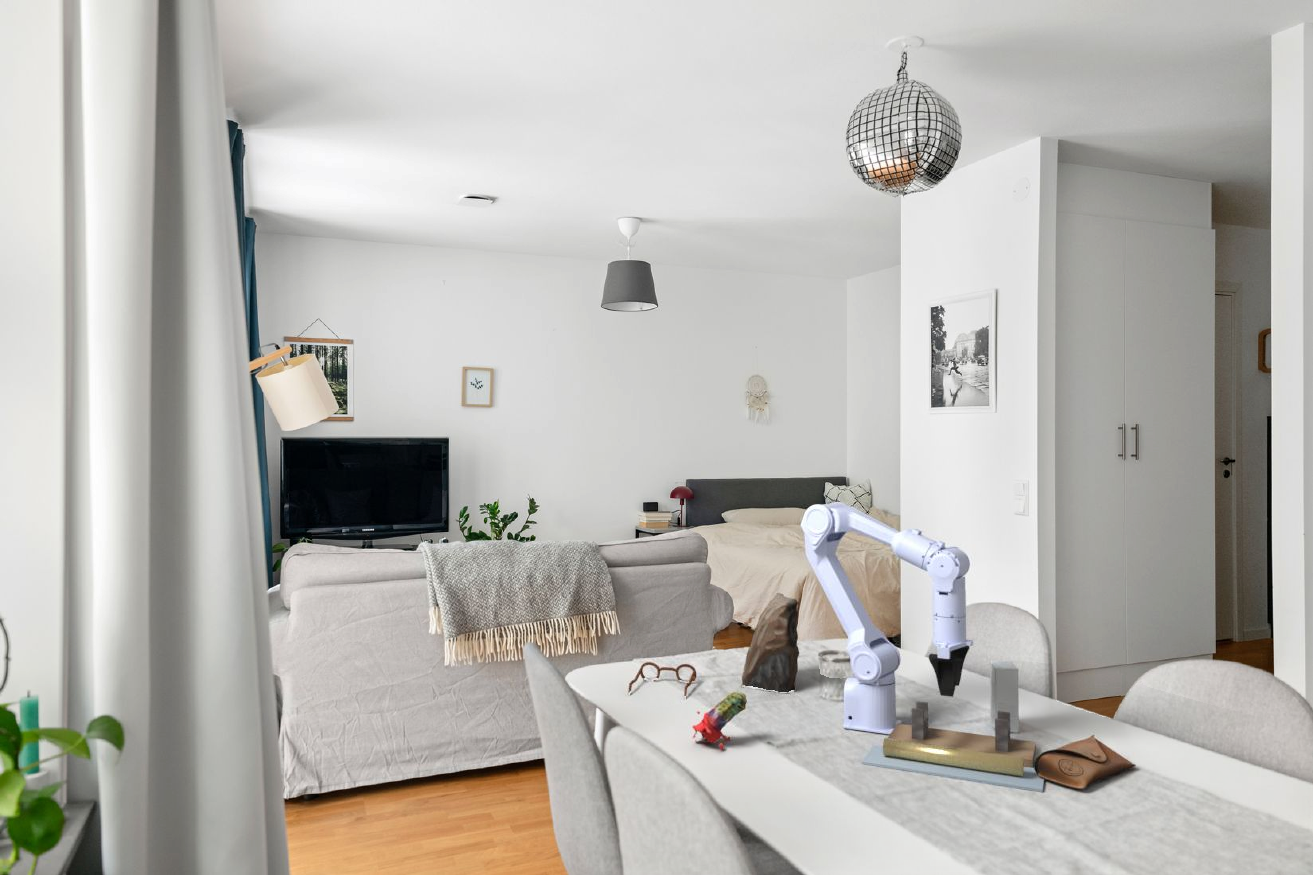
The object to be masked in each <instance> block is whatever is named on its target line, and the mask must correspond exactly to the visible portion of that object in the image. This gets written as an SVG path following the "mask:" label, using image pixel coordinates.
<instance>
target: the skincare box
mask: <svg viewBox="0 0 1313 875" xmlns="http://www.w3.org/2000/svg"><path fill="white" fill-rule="evenodd" d="M989 678H990V679H989V683H990V684H989V694H990V698H989V699H990V701H989V702H990V703H989V704H990V705H989V706H990V708H989V710H990V711H989V714H990V716H989V717H990V720H989V721H990V723H991V725H992V727H993V729H994V730H995V718H997V719H998V715H997V712H998V711H1002V712H1010V733H1016V734H1018V733H1020V732H1019V731H1020V725H1019V724H1020V723H1019V722H1020V720H1019V719H1020V718H1019V713H1020V712H1019V708H1020V707H1019V705H1020V704H1019V703H1020V700H1019V669H1018V667H1017V666H1016V665H1015V664H1014V663H1013V661H1002V660H1001V661H1000V660H999V661H998V660H990V662H989Z"/></svg>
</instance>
